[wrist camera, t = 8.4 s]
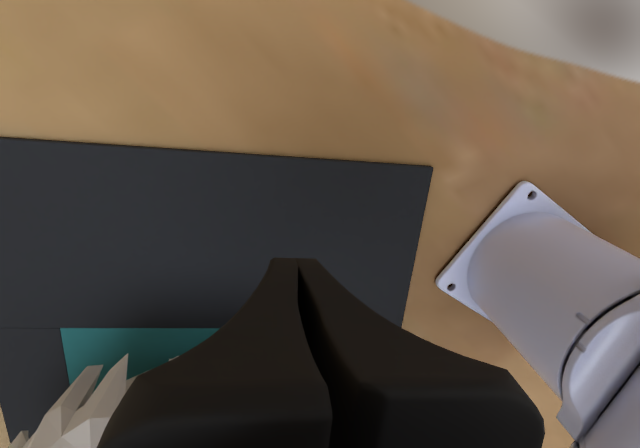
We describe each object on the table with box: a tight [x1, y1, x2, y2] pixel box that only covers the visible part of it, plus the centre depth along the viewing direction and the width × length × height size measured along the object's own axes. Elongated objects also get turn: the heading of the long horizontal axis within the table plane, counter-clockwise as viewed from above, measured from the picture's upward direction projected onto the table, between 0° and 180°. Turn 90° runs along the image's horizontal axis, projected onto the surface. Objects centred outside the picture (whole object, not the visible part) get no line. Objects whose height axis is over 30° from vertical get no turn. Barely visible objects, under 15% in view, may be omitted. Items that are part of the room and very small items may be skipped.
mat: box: [0, 137, 433, 443], centre depth 25 cm, size 31×24×1 cm
